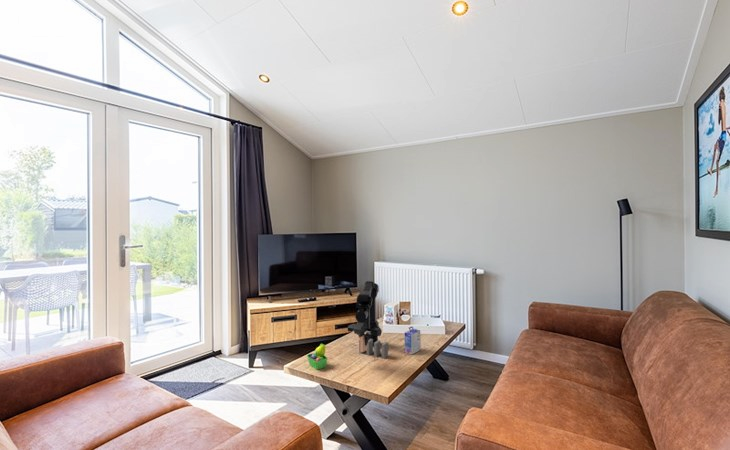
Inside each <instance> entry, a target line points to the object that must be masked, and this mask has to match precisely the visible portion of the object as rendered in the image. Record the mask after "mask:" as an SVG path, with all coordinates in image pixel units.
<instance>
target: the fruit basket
mask: <svg viewBox="0 0 730 450" xmlns="http://www.w3.org/2000/svg"><path fill="white" fill-rule="evenodd" d="M314 351H315V352H313V353H308V354H307V355H306V357H307V360H308V363H309V365H310V366H312V367H313V368H314V369H315V370H316V371H317V370H320V369H323V368H326V365H327V361H328V357H327V356H325V355H326V344H323V343H320V344H319V346H318V347H316V348H315V350H314Z"/></svg>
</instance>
